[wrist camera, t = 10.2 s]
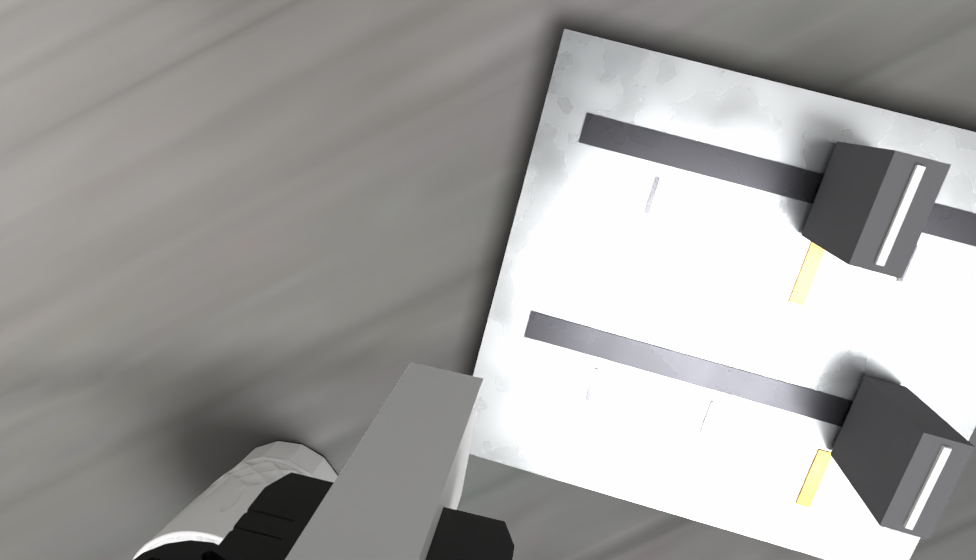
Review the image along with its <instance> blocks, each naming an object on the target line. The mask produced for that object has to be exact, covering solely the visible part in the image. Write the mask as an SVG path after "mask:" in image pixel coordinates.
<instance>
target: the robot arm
mask: <svg viewBox="0 0 976 560" xmlns="http://www.w3.org/2000/svg"><path fill="white" fill-rule="evenodd" d="M482 383H483V378H479V377H474V376H470V375H465V374H461V373H457V372H452V371H448V370H443V369H439V368H434V367H430V366H425V365H421V364H417V363H412V362H410V364H409V365H408V367H407V368H406V370H405V371H404V373H403V375H402V376H401V378H400V379H399V381H398V382H397V384H396V386H395V387H394V389H393V390H392V392H391V393H390V395H389V397H388V398H387V400H386V401H385V403H384V404H383V406H382V408H381V409H380V411H379V412H378V414H377V415H376V417H375V419H374V420H373V422H372V423H371V425H370V427H369V428H368V430H367V431H366V433H365V434H364V436H363V438H362V439H361V441H360V442H359V444H358V445H357V447H356V449H355V450H354V452H353V453H352V455H351V456H350V458H349V460H348V461H347V463H346V464H345V466H344V467H343V469H342V471H341V472H340V474H339V475H338V477H337V478H336V480H335V482H329V481H325V480H321V479H317V478H313V477H309V476H305V475H301V474H297V473H292V472H291V473H289V474H287V475H286V476H284V477H282V478H280V479H278V480H277V481H275V482H273V483H271V484H270V485H268V486H266V487H265V488H264V489H263V490H262V491H261V493H260V494H259V495H258V496H257V498H256V499H255V500H254V501H253V503H252V504H251V505H250V506H249V508H248V510H247V513H244V514H243V515H242V516H241V518H240V519H239V520H238V521H237V523H236V524H235V525H234V528H233V530H232V531H229V533H228V534H227V535H226V536H225V538H224V539H223V540H222V542H221V543H220V544H219V545H218V544H215V543H213V542H203V541H194V540H188V541H181V542H174V543H167V544H164V545H161V546H159V547H156V548H154V549H151V550H149V551H146V552H144V553H142V554H140V555H139V556H138V557H137V558H135V559H134V560H512V557H513V551H514V544H513V542H512V539H511V536H510V534H509V531H508V529H507V526H506V523H505V522H504V521H500V520H496V519H491V518H487V517H483V516H479V515H475V514H471V513H467V512H463V511H458V510H457V507H458V503H459V500H460V497H461V493H462V488H463V483H464V477H465V472H466V467H467V462H468V456H469V451H470V446H471V441H472V435H473V430H474V425H475V420H476V415H477V409H478V404H479V399H480V394H481V388H482Z"/></svg>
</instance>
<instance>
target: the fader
mask: <svg viewBox="0 0 976 560" xmlns="http://www.w3.org/2000/svg"><path fill="white" fill-rule="evenodd" d="M950 166H951V164H947V163H943V162H939V161H935V160H931V159H927V158H923V157H920V156H916V155H912V154H908V153H904V152H900V151H896V150H890V149H883V148H877V147H870V146H864V145H857V144H851V143H845V142H838V141H837V143H836V146H835V148H834V151H833V153H832V156H831V159H830V161H829V164H828V166H827V169H826V172H825V174H824V177H823V179H822V182H821V185H820V187H819V190H818V192H817V195H816V198H815V200H814V203H813V206H812V208H811V211H810V213H809V216H808V219H807V221H806V224H805V226H804V229H803V232H802V234H801V236H802V237H804V238H806V239H807V240H809V241H811V242H812V243H814V244H815V245H817V246H819V247H820V248H822V249H824V250H825V251H827V252H828V253H830V254H832V255H833V256H835V257H837V258H838V259H840V260H841V261H843V262H845V263H846V264H848V265H851V266H855V267H858V268H862V269H866V270H870V271H873V272H877V273H881V274H884V275H888V276H892V277H896V278H899V279H902V277H903V275H904V273H905V270H906V268H907V266H908V263H909V261H910V259H911V256H912V254H913V252H914V249H915V247H916V245H917V243H918V240H919V238H920V236H921V233H922V231H923V229H924V226H925V224H926V222H927V219H928V217H929V215H930V213H931V210H932V208H933V206H934V203H935V201H936V199H937V196H938V194H939V192H940V189H941V187H942V185H943V183H944V180H945V178H946V176H947V173H948V171H949V169H950Z"/></svg>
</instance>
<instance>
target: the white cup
mask: <svg viewBox="0 0 976 560" xmlns="http://www.w3.org/2000/svg"><path fill="white" fill-rule="evenodd" d="M291 472H292V473H297V474H301V475H305V476H309V477H313V478H317V479H321V480H325V481H329V482H335V480H336V478H337V477H338V476H337V474H336V473H335V471H334V470H333V469H332V467H331V466H330V465H329V463H328V462H327V461H326V459H325V458H324V457H322V456H321V455H319V454H317V453H316V452H314V451H313V450H311V449H309V448H308V447H306V446H304V445H302V444H296V443H289V442H282V441H276V442H273V443H270V444H266V445H263V446H260V447H257V448H255V449H254V450H253V451H252V452H251V453H249V454H248V455H247V456H246V457H245V458H244V459H243V460H242V461H241V462H240V463H239V464H238V465H236V466H235V467H234V468H233V469H231V470H230V471H228V472H227V473H225V474H223V475H222V476H221V477H220V478H219V479H218V480H216V481H215V482H214V483H213V484H212V485H211V486H209V487H208V488H207V489H206V490H205V491H204V492H203V493H201V494H200V495H199V496H198V497H196V498H195V499H194V500H193V501H192V502H191V503H190V504H189V505H188V506H187V507H186V508H185V509H183V510H182V511H181V512H180V513H179V514H178V515H177V516H176V517H175V518H174V519H173V520H171V521H170V522H169V523H168V524H167V525H166V526H165V527H164V528H163V529H162V530H160V531H159V532H158V533H157V534H156V535H155V536H154V537H153V538H152V539H151V540H149V541H148V542H147V543H146V544H145V545H144V546H143V547H142V548H141V549H140V550H139V551H138V552H137V553H136V555H135V556H134V558H133V559H132V560H134V559H135V558H137V557H138V556H139V555H140V554H142V553H144V552H146V551H149V550H151V549H154V548H156V547H159V546H161V545H164V544H167V543H174V542H181V541H188V540H194V541H203V542H213V543H215V544H218V545H219V544H220V543H221V542H222V540H223V539H224V538H225V536H226V535H227V534H228V533H229V531H232V530H233V528H234V525H235V524H236V523H237V521H238V520H239V519H240V518H241V516H242V515H243V514H244V513H247V510H248V508H249V506H250V505H251V504H252V503H253V501H254V500H255V499H256V498H257V496H258V495H259V494H260V493H261V491H262V490H263V489H264V488H265V487H266V486H268V485H270V484H271V483H273V482H275V481H277V480H278V479H280V478H282V477H284V476H286V475H287V474H289V473H291Z"/></svg>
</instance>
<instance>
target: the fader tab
mask: <svg viewBox="0 0 976 560" xmlns="http://www.w3.org/2000/svg"><path fill="white" fill-rule="evenodd" d="M974 448H975V447H974V446H973V445H972V444H971V443H970V442H969V441H968V440H966V439H965V438H964V437H963V436H962V435H961V434H960V433H958V432H957V431H956V430H955V429H954V428H953V427H952V426H951V425H949V424H948V423H947V422H946V421H945V420H944V419H943V418H941V417H940V416H939V415H938V414H937V413H936V412H935V411H934V410H932V409H931V408H930V407H929V406H928V405H927V404H926V403H924V402H923V401H922V400H921V399H920V398H919V397H918V396H917V395H915V394H914V393H913V392H912V391H911V390H910V389H909V388H908V387H906V386H902V385H899V384H895V383H891V382H888V381H884V380H880V379H877V378H873V377H870V376H866V375H865V376H864V378H863V380H862V383H861V385H860V387H859V390H858V392H857V394H856V396H855V399H854V401H853V403H852V406H851V408H850V410H849V413H848V415H847V417H846V419H845V422H844V424H843V426H842V429H841V431H840V433H839V436H838V438H837V440H836V442H835V445H834V447H833V449H832V452H831V454H830V455H831V456H832V458H833V459H834V461H835V462H836V464H837V465H838V467H839V468H840V469H841V471H842V472H843V474H844V475H845V477H846V478H847V479H848V481H849V482H850V484H851V485H852V487H853V488H854V489H855V491H856V492H857V494H858V495H859V497H860V498H861V500H862V501H863V502H864V504H865V505H866V507H867V508H868V510H869V511H870V512H871V514H872V515H873V517H874V518H875V520H876V521H877V522H878V524H879V525H880V526H882V527H886V528H889V529H893V530H896V531H900V532H903V533H906V534H910V535H913V536H917V537H920V538H924V539H927V540H929V538H930V536H931V534H932V532H933V530H934V528H935V526H936V524H937V522H938V520H939V518H940V516H941V514H942V512H943V510H944V508H945V506H946V504H947V502H948V500H949V498H950V496H951V494H952V492H953V490H954V488H955V486H956V484H957V482H958V480H959V478H960V476H961V474H962V472H963V470H964V468H965V466H966V464H967V462H968V460H969V458H970V456H971V454H972V452H973V450H974Z"/></svg>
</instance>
